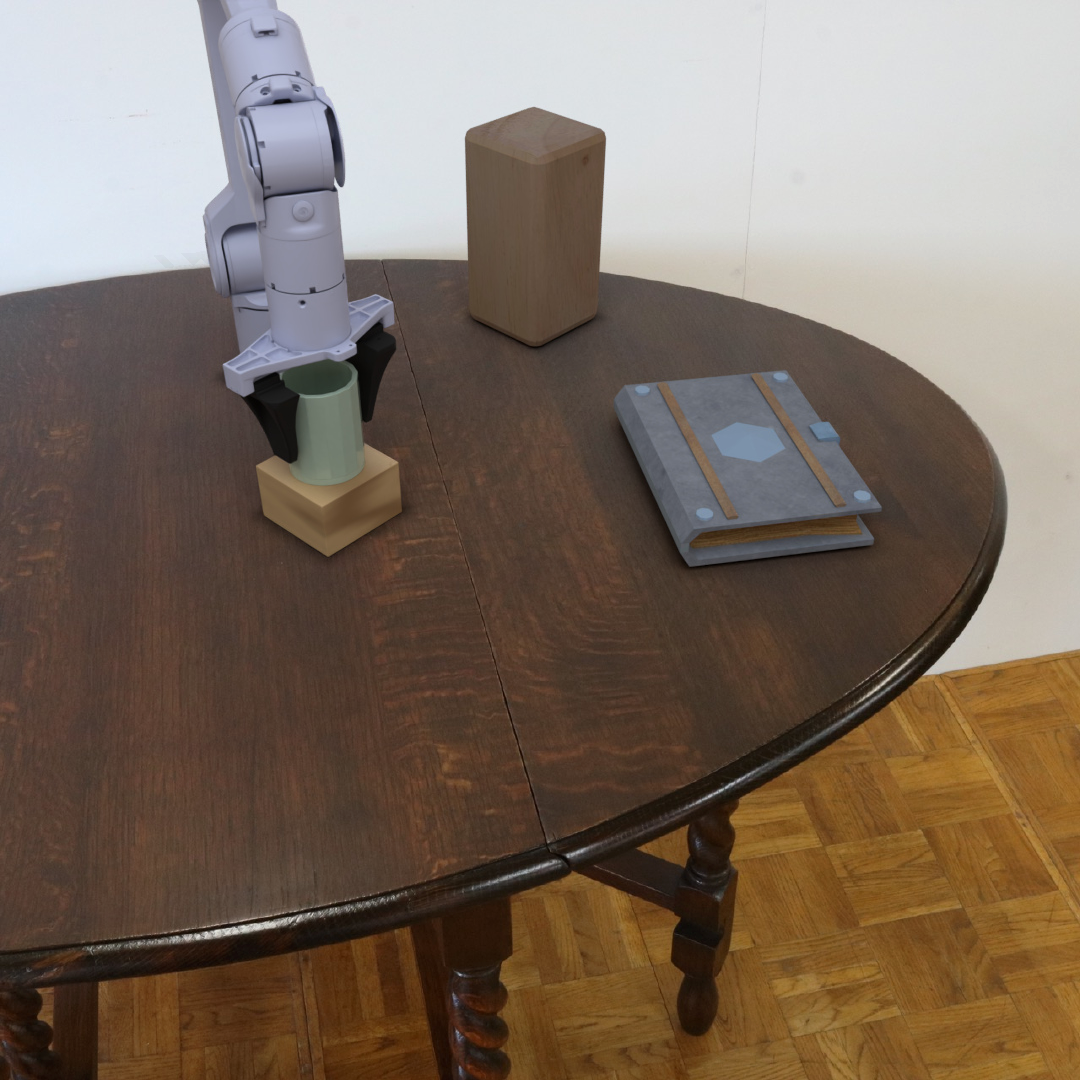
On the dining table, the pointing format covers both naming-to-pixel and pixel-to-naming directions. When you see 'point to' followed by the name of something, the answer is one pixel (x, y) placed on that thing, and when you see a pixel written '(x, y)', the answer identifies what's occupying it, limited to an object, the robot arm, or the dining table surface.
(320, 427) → the cup
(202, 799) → the dining table surface
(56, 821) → the dining table surface
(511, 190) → the wooden block
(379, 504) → the block
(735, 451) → the book
